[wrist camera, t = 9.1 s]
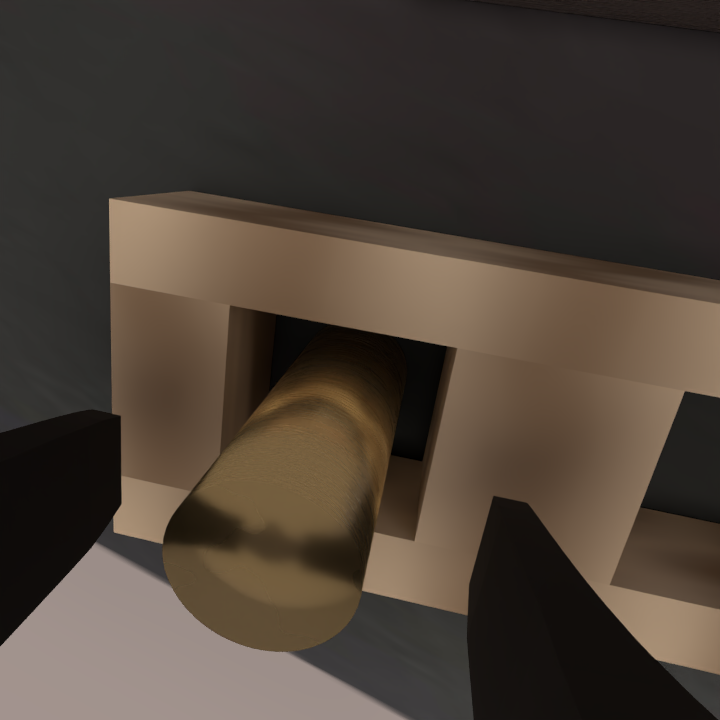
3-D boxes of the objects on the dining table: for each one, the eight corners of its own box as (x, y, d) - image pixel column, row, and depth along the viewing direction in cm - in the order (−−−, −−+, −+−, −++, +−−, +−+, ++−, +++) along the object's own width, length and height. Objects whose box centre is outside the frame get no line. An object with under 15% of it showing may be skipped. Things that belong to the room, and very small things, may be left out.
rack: (982, 324, 14) (1177, 383, 10) (824, 601, 17) (928, 723, 13) (189, 190, 16) (108, 198, 12) (179, 460, 19) (113, 532, 15)
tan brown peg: (416, 330, 16) (378, 509, 8) (396, 426, 17) (345, 671, 9) (310, 309, 16) (165, 459, 8) (298, 405, 18) (159, 624, 9)
